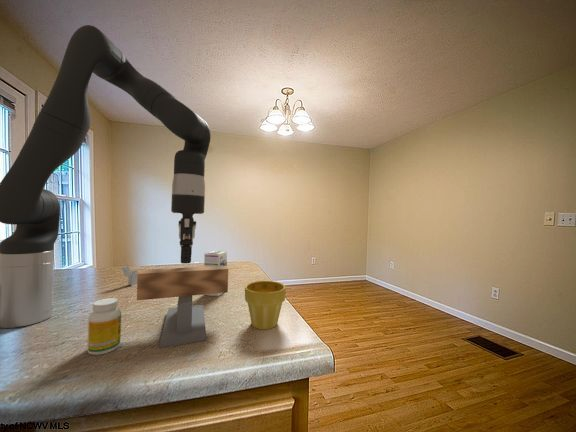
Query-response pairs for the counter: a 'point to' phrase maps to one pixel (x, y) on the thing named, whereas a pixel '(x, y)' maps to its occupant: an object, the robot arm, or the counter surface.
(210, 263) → the syrup box
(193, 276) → the wooden beam
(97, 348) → the supplement bottle
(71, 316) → the counter surface
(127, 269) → the lighter
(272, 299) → the plant pot
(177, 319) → the ridge stand
